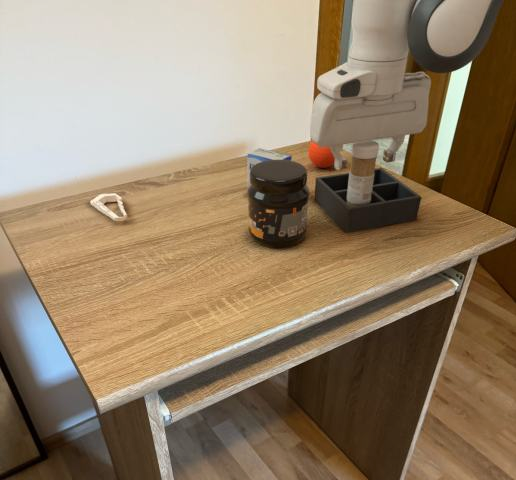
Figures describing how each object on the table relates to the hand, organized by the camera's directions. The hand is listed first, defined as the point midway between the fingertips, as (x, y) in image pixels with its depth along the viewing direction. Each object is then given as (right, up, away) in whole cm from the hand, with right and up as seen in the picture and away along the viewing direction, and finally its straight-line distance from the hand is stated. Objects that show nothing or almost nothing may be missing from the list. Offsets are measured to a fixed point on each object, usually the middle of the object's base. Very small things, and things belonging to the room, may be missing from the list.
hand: (364, 164), depth 85 cm
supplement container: (-15, -12, +3) cm, 19 cm away
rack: (+2, -5, +10) cm, 12 cm away
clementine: (-4, +9, +26) cm, 28 cm away
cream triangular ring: (-47, -5, +11) cm, 49 cm away
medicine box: (-17, -1, +15) cm, 23 cm away
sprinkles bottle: (0, -7, +7) cm, 10 cm away
